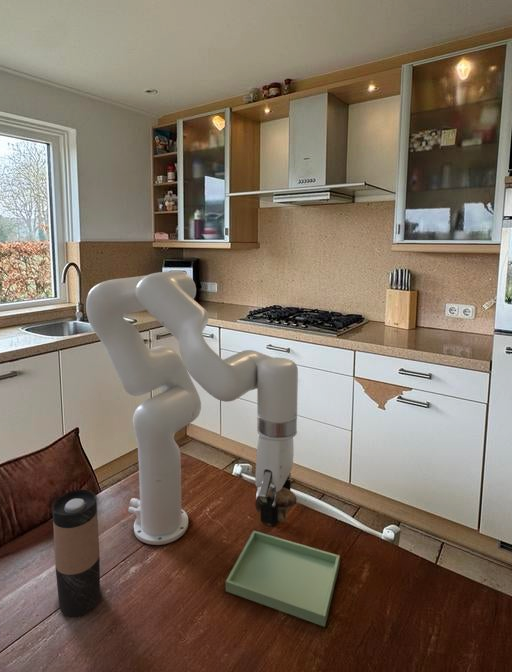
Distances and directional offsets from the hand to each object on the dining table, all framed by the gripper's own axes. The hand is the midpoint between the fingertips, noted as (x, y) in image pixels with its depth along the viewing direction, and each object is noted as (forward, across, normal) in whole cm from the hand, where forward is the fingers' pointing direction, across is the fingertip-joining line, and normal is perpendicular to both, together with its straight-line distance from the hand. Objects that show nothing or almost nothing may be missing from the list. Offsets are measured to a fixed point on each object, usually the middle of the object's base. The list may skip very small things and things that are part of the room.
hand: (276, 509), depth 82 cm
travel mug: (+15, +19, -32) cm, 40 cm away
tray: (+15, -1, +2) cm, 15 cm away
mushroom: (+2, 0, 0) cm, 2 cm away
